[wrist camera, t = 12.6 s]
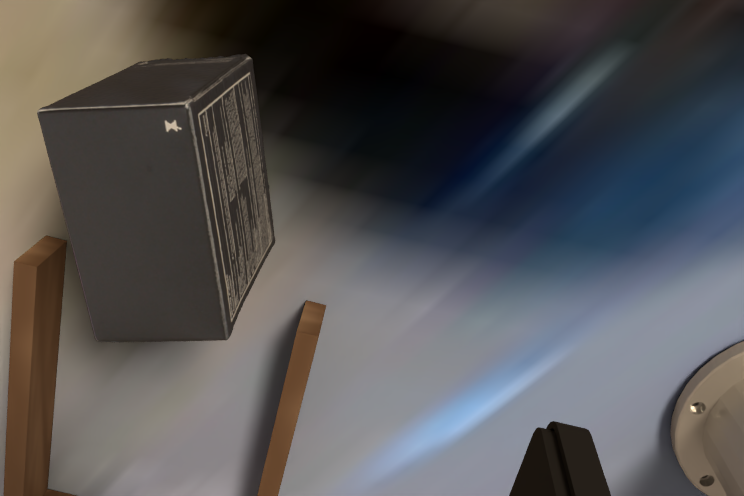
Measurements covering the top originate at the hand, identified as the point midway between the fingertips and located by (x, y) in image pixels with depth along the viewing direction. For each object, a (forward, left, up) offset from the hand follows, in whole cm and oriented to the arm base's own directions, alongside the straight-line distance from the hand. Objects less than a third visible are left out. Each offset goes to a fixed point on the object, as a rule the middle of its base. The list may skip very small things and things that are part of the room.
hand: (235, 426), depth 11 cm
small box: (+7, +6, -27) cm, 29 cm away
